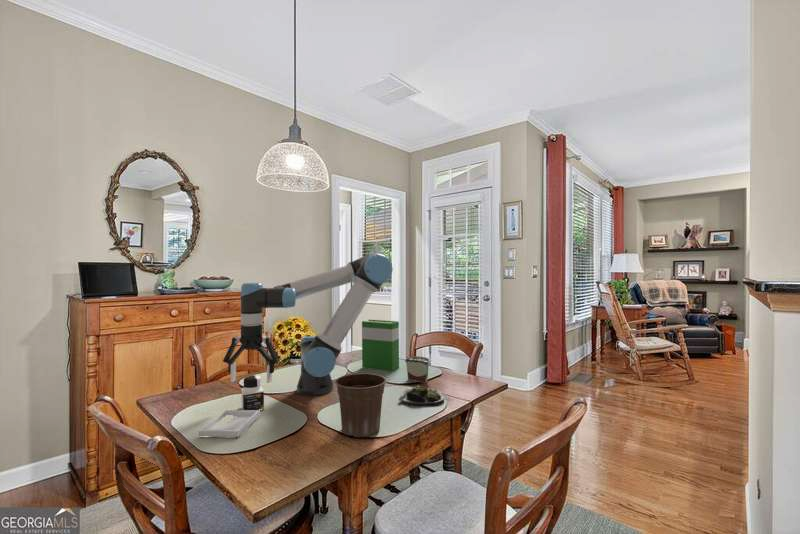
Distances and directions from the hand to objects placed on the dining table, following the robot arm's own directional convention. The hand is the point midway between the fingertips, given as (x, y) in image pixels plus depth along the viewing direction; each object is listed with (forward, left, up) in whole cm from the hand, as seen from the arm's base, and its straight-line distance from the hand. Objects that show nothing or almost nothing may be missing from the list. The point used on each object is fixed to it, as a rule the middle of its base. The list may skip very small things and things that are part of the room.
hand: (251, 381), depth 140 cm
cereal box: (-43, -56, -10) cm, 72 cm away
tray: (0, +15, -10) cm, 18 cm away
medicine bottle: (0, 0, -10) cm, 10 cm away
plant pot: (-43, +17, -10) cm, 48 cm away
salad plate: (-63, -11, -11) cm, 65 cm away
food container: (-63, -36, -10) cm, 74 cm away
